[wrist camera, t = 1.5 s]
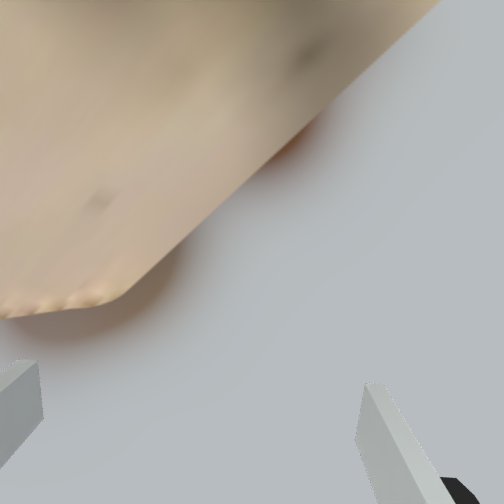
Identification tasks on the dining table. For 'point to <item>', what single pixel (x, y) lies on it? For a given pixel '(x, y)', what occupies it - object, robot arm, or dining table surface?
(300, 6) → the dining table surface
